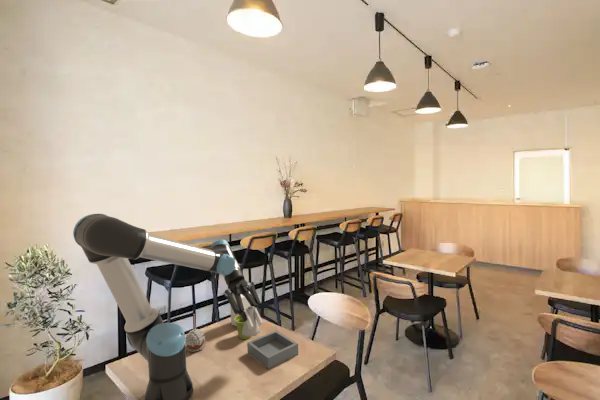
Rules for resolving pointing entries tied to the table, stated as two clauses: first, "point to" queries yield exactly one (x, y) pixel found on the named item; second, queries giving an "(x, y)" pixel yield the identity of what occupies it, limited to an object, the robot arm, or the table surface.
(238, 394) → the table surface
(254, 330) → the flask
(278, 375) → the table surface
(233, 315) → the milk carton
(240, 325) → the plant pot
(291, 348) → the open box
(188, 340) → the decorative ornament
